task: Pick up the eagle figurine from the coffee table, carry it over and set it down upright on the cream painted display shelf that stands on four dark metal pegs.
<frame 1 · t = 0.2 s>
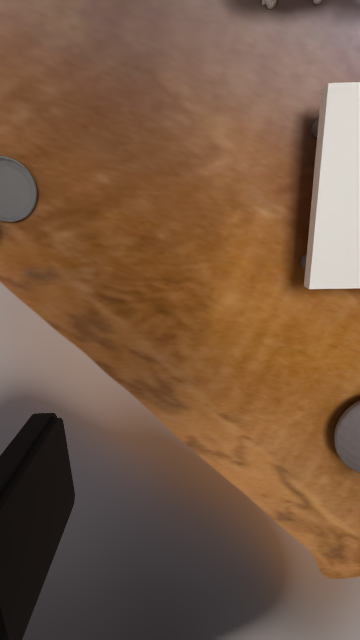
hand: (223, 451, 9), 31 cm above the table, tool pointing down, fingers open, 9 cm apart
pocket watch: (1, 196, 37), on the table
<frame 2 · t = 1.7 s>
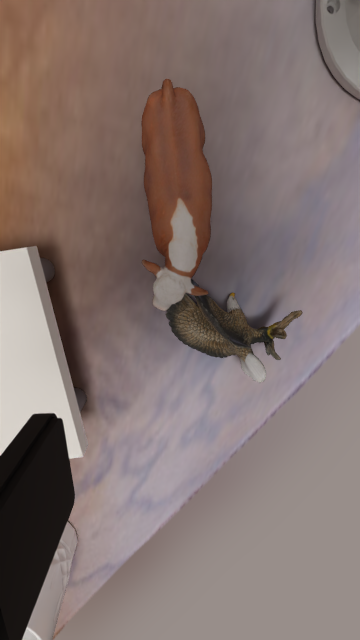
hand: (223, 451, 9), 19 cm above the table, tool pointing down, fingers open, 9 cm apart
eagle figurine: (220, 314, 29), on the table
white cup: (47, 534, 36), on the table
bull figurine: (178, 209, 26), on the table
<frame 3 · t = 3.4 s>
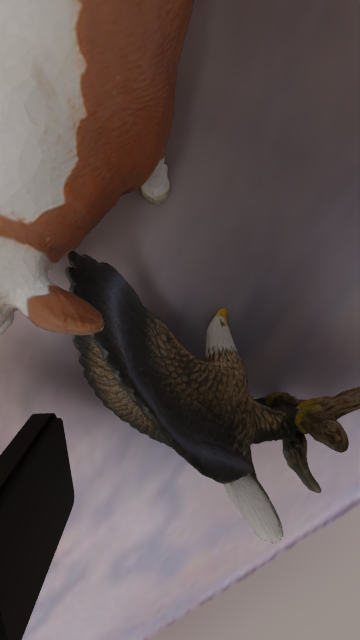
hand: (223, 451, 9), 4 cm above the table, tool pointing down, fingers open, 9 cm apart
eagle figurine: (193, 351, 13), on the table
bull figurine: (126, 86, 10), on the table
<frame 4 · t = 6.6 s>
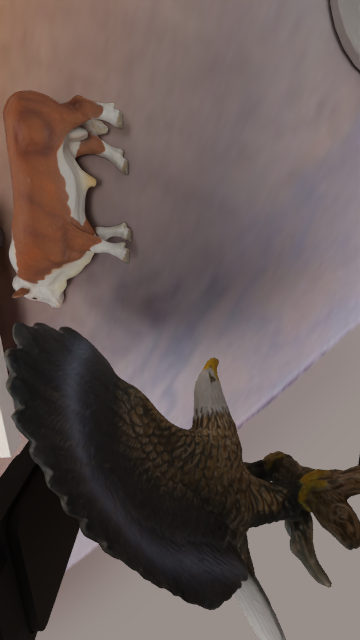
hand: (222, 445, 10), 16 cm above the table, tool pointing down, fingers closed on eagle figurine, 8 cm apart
eagle figurine: (181, 404, 12), point 14 cm above the table, touching gripper
bull figurine: (132, 209, 21), point 2 cm above the table
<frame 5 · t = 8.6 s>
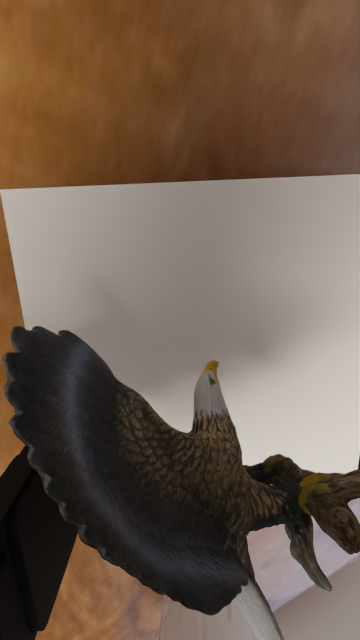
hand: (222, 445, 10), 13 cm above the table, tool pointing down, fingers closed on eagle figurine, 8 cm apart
eagle figurine: (181, 406, 12), point 11 cm above the table, touching gripper
display shelf: (201, 318, 22), on the table
white cup: (206, 558, 29), on the table
when the fingers open (9 cm above the table, at t = 10.3 s): eagle figurine stays where it is, resting on display shelf.
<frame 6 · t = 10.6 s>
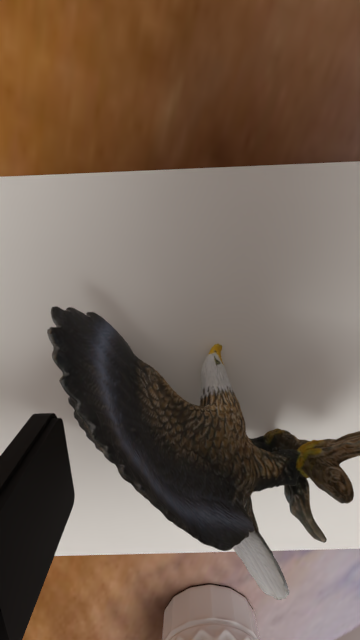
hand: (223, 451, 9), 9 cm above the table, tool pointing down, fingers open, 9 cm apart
eagle figurine: (187, 387, 13), point 6 cm above the table, touching display shelf, gripper
display shelf: (203, 340, 18), on the table
white cup: (208, 612, 25), on the table
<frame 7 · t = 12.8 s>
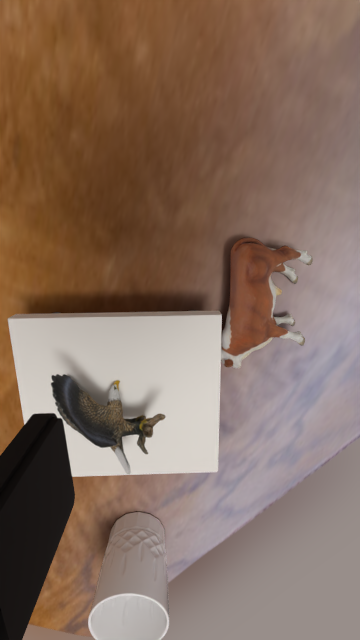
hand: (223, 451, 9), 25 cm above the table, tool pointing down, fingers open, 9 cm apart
eagle figurine: (106, 398, 30), point 6 cm above the table, touching display shelf
display shelf: (129, 373, 36), on the table
white cup: (138, 530, 42), on the table
bull figurine: (301, 308, 32), point 2 cm above the table
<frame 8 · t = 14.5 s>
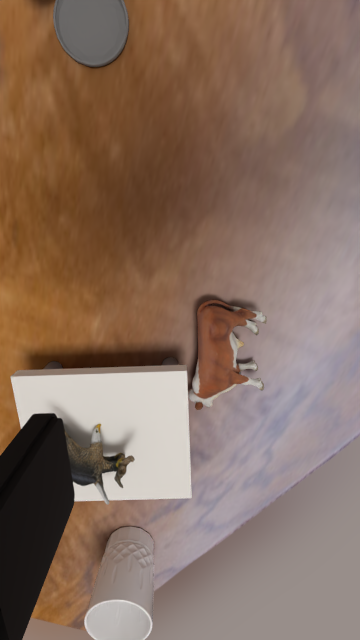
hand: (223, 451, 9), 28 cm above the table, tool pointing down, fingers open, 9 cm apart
eagle figurine: (91, 437, 36), point 6 cm above the table, touching display shelf
display shelf: (116, 410, 41), on the table
white cup: (131, 542, 48), on the table
pocket watch: (87, 14, 30), on the table
bull figurine: (262, 357, 37), point 2 cm above the table
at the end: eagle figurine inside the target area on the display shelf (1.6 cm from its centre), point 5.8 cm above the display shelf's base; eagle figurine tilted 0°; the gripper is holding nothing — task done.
